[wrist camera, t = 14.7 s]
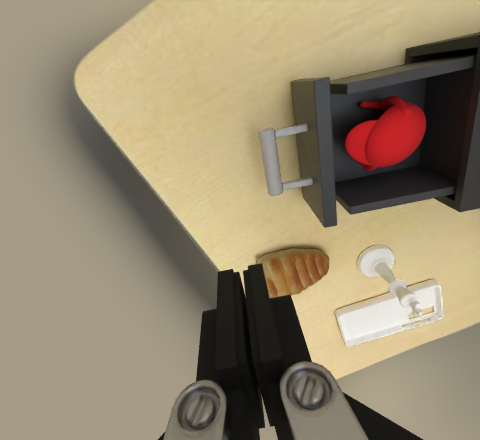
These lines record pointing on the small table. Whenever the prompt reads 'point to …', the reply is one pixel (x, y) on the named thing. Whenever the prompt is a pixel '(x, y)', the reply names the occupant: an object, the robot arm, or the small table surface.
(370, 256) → the chess piece
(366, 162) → the red rounded lump
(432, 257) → the small table surface
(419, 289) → the phone case
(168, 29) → the small table surface
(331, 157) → the drawer
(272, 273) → the pastry
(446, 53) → the cabinet
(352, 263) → the small table surface
